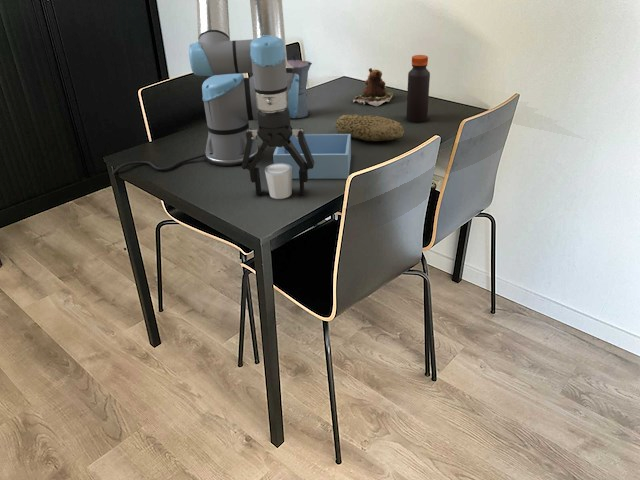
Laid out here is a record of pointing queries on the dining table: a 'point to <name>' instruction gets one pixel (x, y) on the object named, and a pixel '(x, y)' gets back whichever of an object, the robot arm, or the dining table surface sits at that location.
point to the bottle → (418, 89)
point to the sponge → (369, 127)
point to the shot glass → (279, 180)
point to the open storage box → (320, 156)
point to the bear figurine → (374, 90)
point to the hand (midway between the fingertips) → (280, 193)
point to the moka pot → (301, 84)
